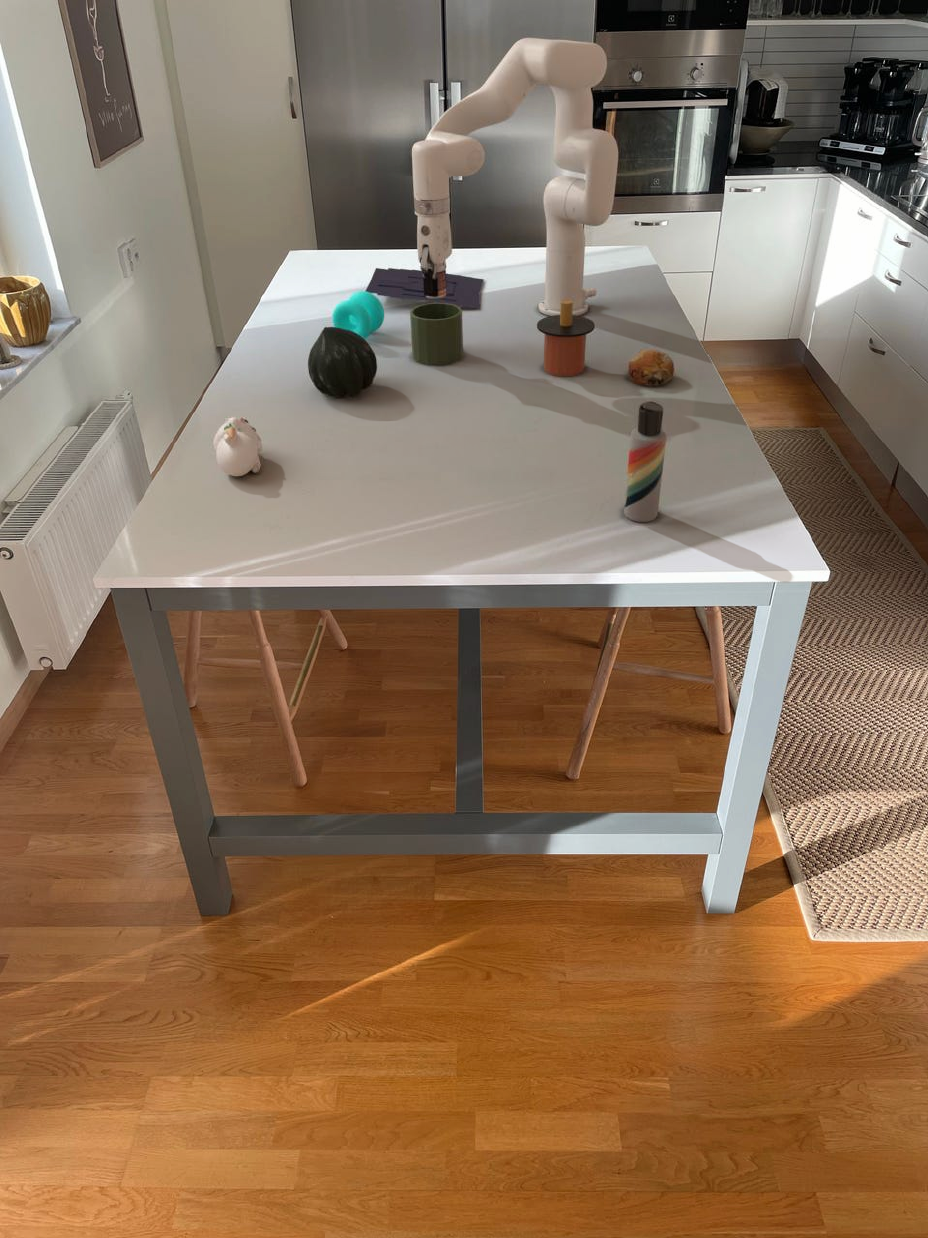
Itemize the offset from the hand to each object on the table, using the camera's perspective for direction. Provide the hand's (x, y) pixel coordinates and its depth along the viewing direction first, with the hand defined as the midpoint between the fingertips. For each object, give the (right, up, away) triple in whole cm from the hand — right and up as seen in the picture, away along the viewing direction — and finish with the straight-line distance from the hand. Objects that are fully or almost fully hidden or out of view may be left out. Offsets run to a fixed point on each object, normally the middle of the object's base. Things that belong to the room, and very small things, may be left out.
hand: (435, 290), depth 214 cm
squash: (-19, -24, -6) cm, 31 cm away
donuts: (-19, -5, +20) cm, 28 cm away
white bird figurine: (-36, -44, -33) cm, 66 cm away
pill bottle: (0, -1, +1) cm, 1 cm away
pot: (0, -12, +9) cm, 15 cm away
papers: (-4, +14, +44) cm, 47 cm away
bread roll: (+47, -21, -4) cm, 52 cm away
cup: (+29, -17, +1) cm, 34 cm away
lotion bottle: (+37, -56, -50) cm, 83 cm away
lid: (+29, -9, -5) cm, 30 cm away
